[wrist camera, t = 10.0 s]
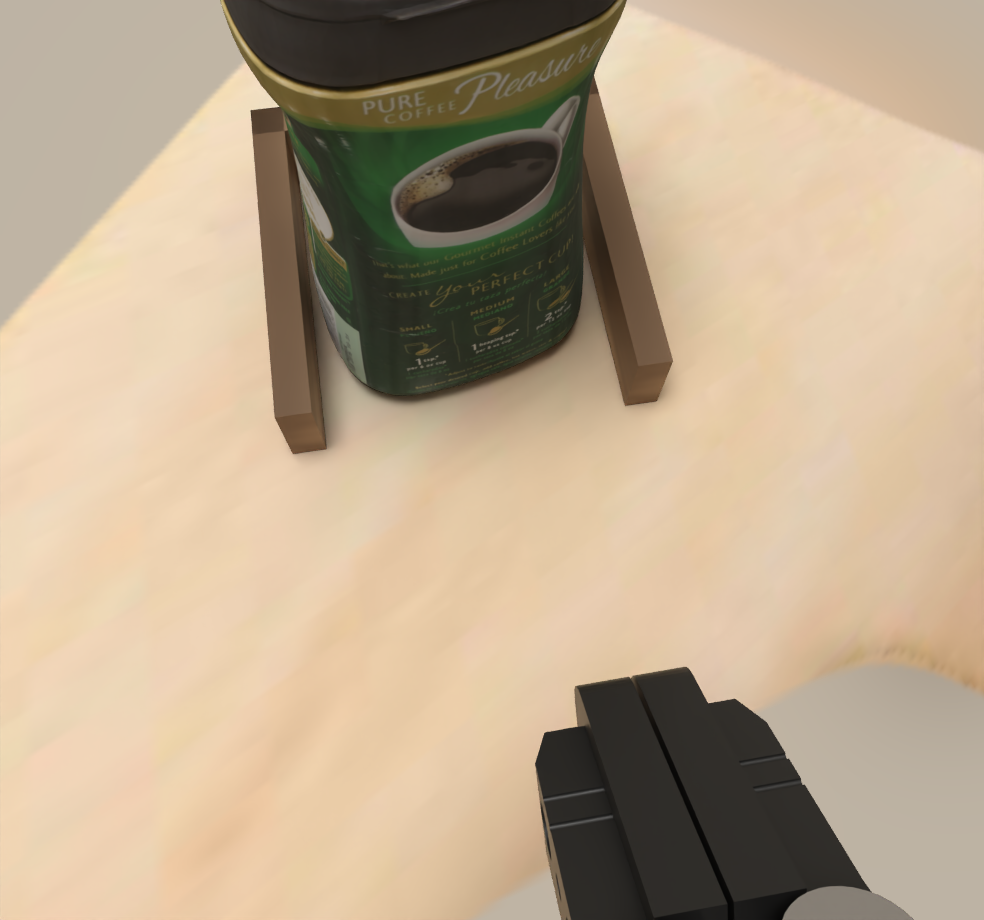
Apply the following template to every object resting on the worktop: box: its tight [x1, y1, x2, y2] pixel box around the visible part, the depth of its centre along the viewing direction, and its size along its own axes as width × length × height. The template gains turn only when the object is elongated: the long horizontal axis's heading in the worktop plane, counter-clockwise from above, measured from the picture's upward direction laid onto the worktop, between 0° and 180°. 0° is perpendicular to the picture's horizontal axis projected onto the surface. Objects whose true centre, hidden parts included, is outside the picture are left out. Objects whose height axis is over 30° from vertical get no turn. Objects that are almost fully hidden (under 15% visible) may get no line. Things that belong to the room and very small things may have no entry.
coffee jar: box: [220, 0, 627, 395], centre depth 26 cm, size 10×8×19 cm
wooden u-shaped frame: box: [251, 77, 673, 454], centre depth 33 cm, size 13×13×3 cm
